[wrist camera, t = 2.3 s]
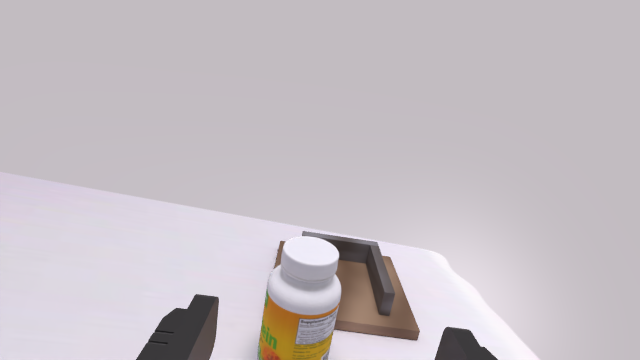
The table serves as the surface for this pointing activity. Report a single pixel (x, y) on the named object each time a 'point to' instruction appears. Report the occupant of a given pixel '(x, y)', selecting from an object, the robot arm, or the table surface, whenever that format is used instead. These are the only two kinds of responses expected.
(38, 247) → the table surface
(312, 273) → the supplement bottle
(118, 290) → the table surface
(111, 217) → the table surface
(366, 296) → the u holder
